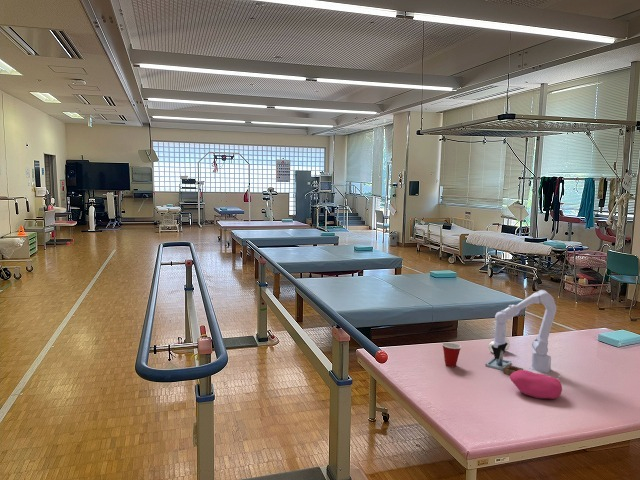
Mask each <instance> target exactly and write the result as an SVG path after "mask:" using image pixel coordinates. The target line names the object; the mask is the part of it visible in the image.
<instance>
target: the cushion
mask: <svg viewBox="0 0 640 480" xmlns="http://www.w3.org/2000/svg"><path fill="white" fill-rule="evenodd" d="M509 379H510V381H511V382H512V383H513V385H514V386H515V387H516V388H517V390H518V391H520V392H521V393H522V394H523V395H526V396H529V397H532V398H536V399H552V400H554V399H558V398H559V397H560V396H561V394H562V392H563V387H562V383H561V381H560V379H559V378H557V377H553V376H549V375H546V374H543V373H538V372H532V371H529V370H525V369H523V370H518V371H515V372H513V373H512V374H511V375H509Z"/></svg>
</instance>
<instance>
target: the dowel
mask: <svg viewBox="0 0 640 480" xmlns="http://www.w3.org/2000/svg"><path fill="white" fill-rule="evenodd" d="M503 360H504V354H503V351H502V350H501V352H500V357H499V359H496V365H498V366H502V365H503Z"/></svg>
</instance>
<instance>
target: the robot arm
mask: <svg viewBox="0 0 640 480" xmlns="http://www.w3.org/2000/svg"><path fill="white" fill-rule="evenodd" d="M540 303H541V304H542V305H543V306H544V308H545V310H544V313H543V317H542V320H541V324H540V327H539V331H538V333H537V335H536V337H535V339H534V340H533V342H531V346H532V349H533V350H532V353H531V365H530V367H528V369H529V370H532V371H537V372H541V373H546V374H548V373H549V372H550V371H551V367H552V356H551V355H549V354H548V351H549V348H548V345H549V340H548V339H549V336H550V332H551V330H552V326H553V323H554V319H555V316H556V314H557V313H556V312H557V310H558V309H557V304H556V301H555V298H554V296H552V295H551V294H550V293H548V291H547V290H545V289H540V290H538V291H535V292H534V293H532V294H531V295H529V296H527V297H526V298H525V299H523V300H522V301H520V302H519V303H517V304H508V307H506V308H504V309H501V310H500V311H497V312H496V313H495V315H494V319H495V325H494V338H493V339H491V342H492V341H494V345H492V346H491V347H492V349H493V352H494V353H493V356H494V357H493V358H495V359H499V357H500V352H501V350H502V351H503V355H504V353H505V351H506V350H505V348H506V346H507V344H508V343H506V341H505V340H506V335H507V334H506V333H507V323H508V321H509V320H510V319H512V318H514V317H516V316H517V315H518V314H520V311H521V310H523V309H525V308H526V307H528V306H531V305H532V304H537V305H538V304H540Z"/></svg>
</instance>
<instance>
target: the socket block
mask: <svg viewBox="0 0 640 480" xmlns="http://www.w3.org/2000/svg"><path fill="white" fill-rule="evenodd" d="M518 370H524V367H520V366H515V365H512V364H510V365H507V366H506V367H505V368H504V370H502V373H503V374H504V375H509V376H510V375H511V374H512V373H513V372H515V371H518Z"/></svg>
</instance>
